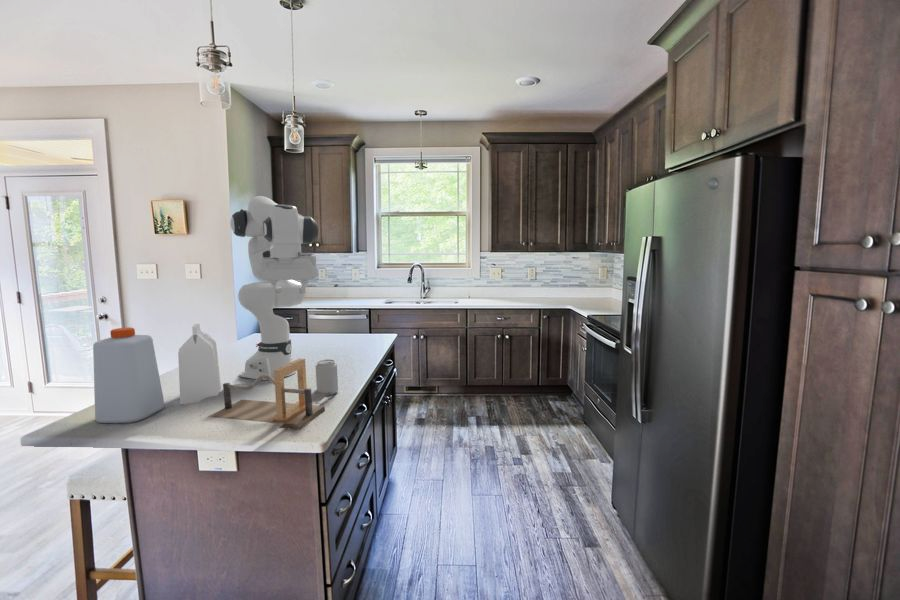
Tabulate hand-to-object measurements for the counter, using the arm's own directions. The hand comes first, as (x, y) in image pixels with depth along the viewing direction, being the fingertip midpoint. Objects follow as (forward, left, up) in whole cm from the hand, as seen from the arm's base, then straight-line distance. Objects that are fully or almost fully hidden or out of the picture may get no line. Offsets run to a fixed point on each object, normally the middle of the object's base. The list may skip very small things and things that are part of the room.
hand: (290, 293), depth 147 cm
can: (+9, +6, -37) cm, 39 cm away
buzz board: (+1, -17, -37) cm, 41 cm away
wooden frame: (+10, -17, -36) cm, 41 cm away
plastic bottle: (-43, -25, -37) cm, 62 cm away
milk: (-34, -6, -37) cm, 51 cm away
